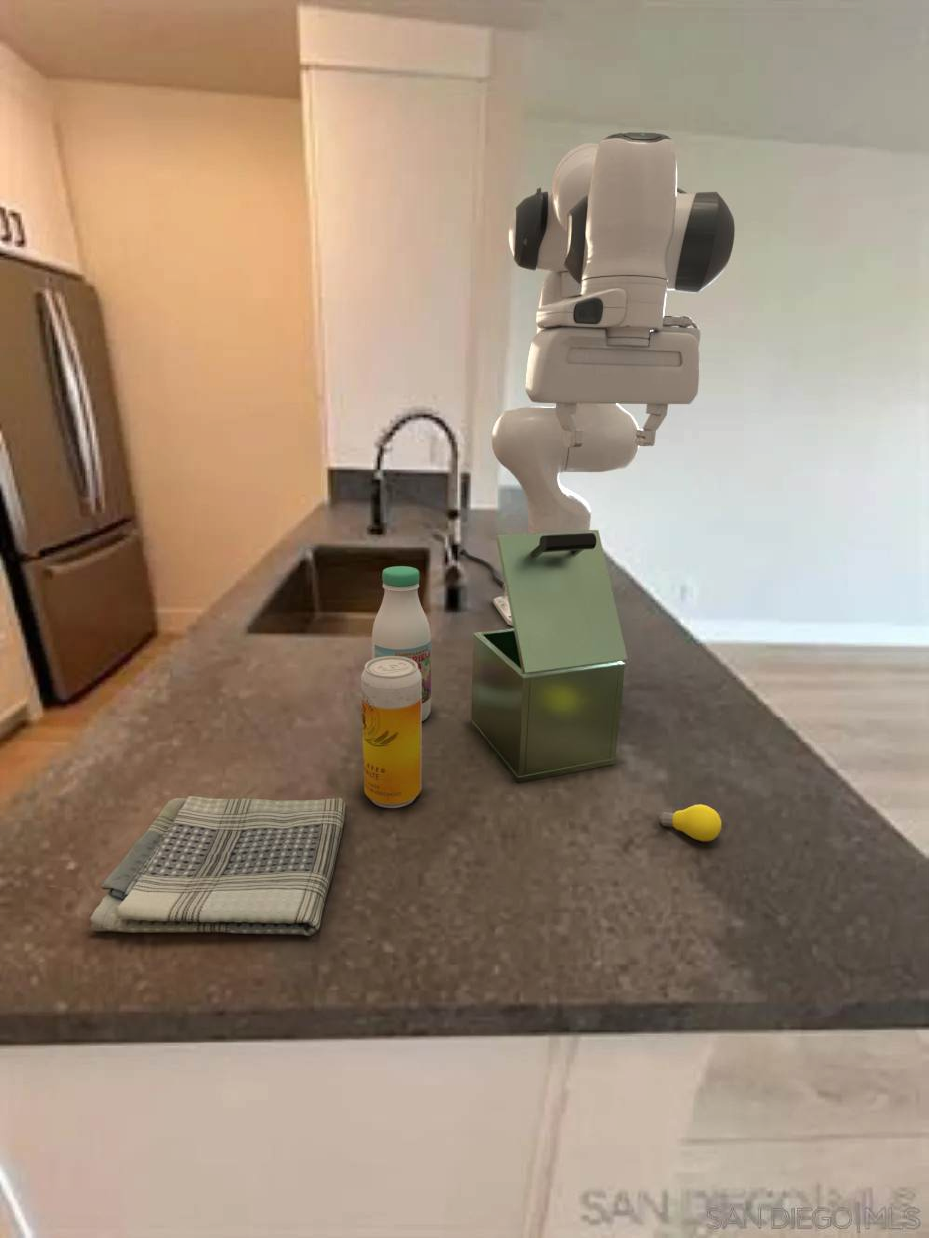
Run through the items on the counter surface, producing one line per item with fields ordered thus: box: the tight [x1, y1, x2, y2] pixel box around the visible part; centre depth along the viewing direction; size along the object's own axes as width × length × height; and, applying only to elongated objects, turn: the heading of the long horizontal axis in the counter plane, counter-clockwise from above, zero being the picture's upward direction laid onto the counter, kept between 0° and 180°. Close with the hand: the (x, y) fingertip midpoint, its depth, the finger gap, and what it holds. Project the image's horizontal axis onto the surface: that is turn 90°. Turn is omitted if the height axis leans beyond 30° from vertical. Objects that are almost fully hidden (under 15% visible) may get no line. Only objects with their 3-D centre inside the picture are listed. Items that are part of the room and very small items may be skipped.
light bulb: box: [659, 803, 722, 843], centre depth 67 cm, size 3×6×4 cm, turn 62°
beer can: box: [360, 656, 423, 809], centre depth 70 cm, size 6×6×15 cm
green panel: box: [495, 529, 629, 674], centre depth 72 cm, size 15×13×5 cm
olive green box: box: [470, 628, 626, 784], centre depth 82 cm, size 15×13×13 cm
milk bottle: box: [371, 565, 432, 722], centre depth 87 cm, size 8×8×20 cm
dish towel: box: [89, 795, 347, 937], centre depth 60 cm, size 19×18×3 cm
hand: (609, 446), depth 76 cm, fingers open, 8 cm apart
